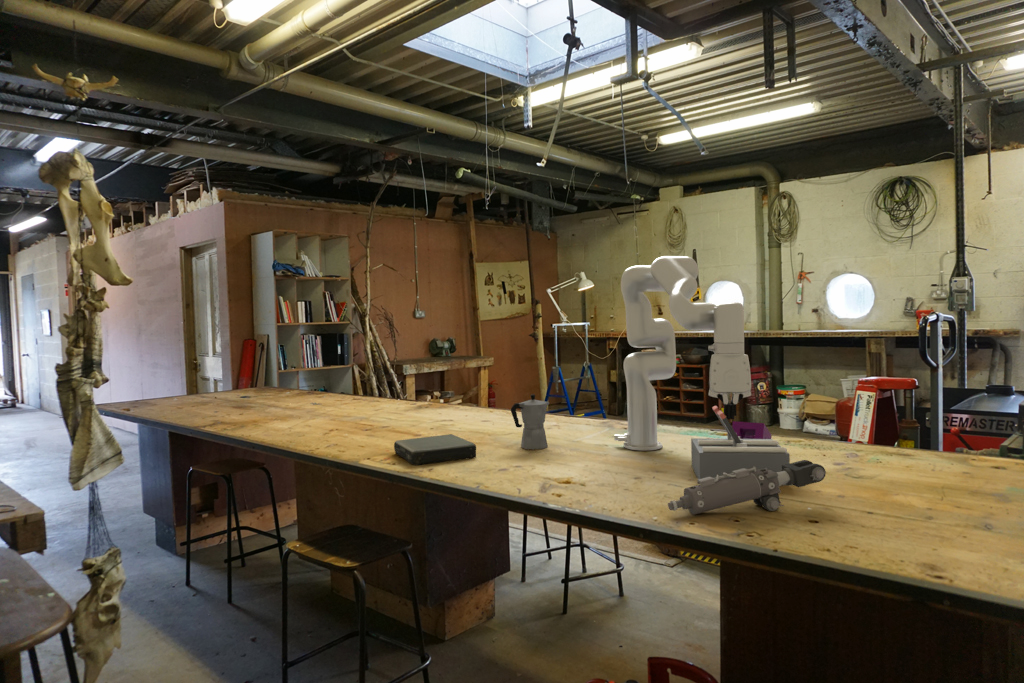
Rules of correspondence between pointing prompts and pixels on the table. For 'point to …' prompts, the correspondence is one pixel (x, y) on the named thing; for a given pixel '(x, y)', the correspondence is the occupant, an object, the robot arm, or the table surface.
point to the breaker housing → (735, 455)
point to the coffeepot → (532, 423)
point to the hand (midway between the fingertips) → (730, 418)
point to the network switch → (434, 449)
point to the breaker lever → (728, 427)
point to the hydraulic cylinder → (747, 487)
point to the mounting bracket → (751, 430)
